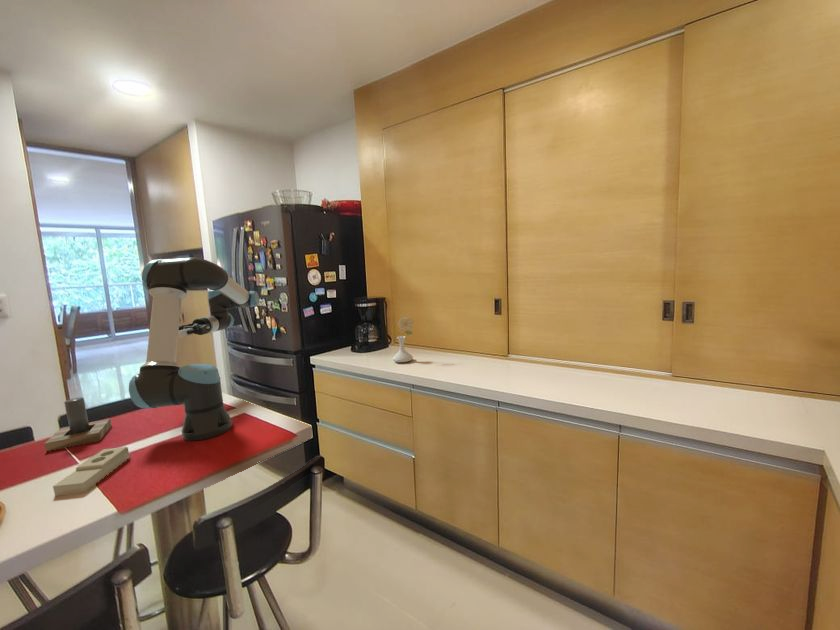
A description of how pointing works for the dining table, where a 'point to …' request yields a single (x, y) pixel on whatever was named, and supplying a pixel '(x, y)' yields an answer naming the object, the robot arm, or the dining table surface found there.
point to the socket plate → (78, 435)
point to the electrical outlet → (92, 471)
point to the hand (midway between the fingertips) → (164, 334)
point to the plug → (77, 415)
